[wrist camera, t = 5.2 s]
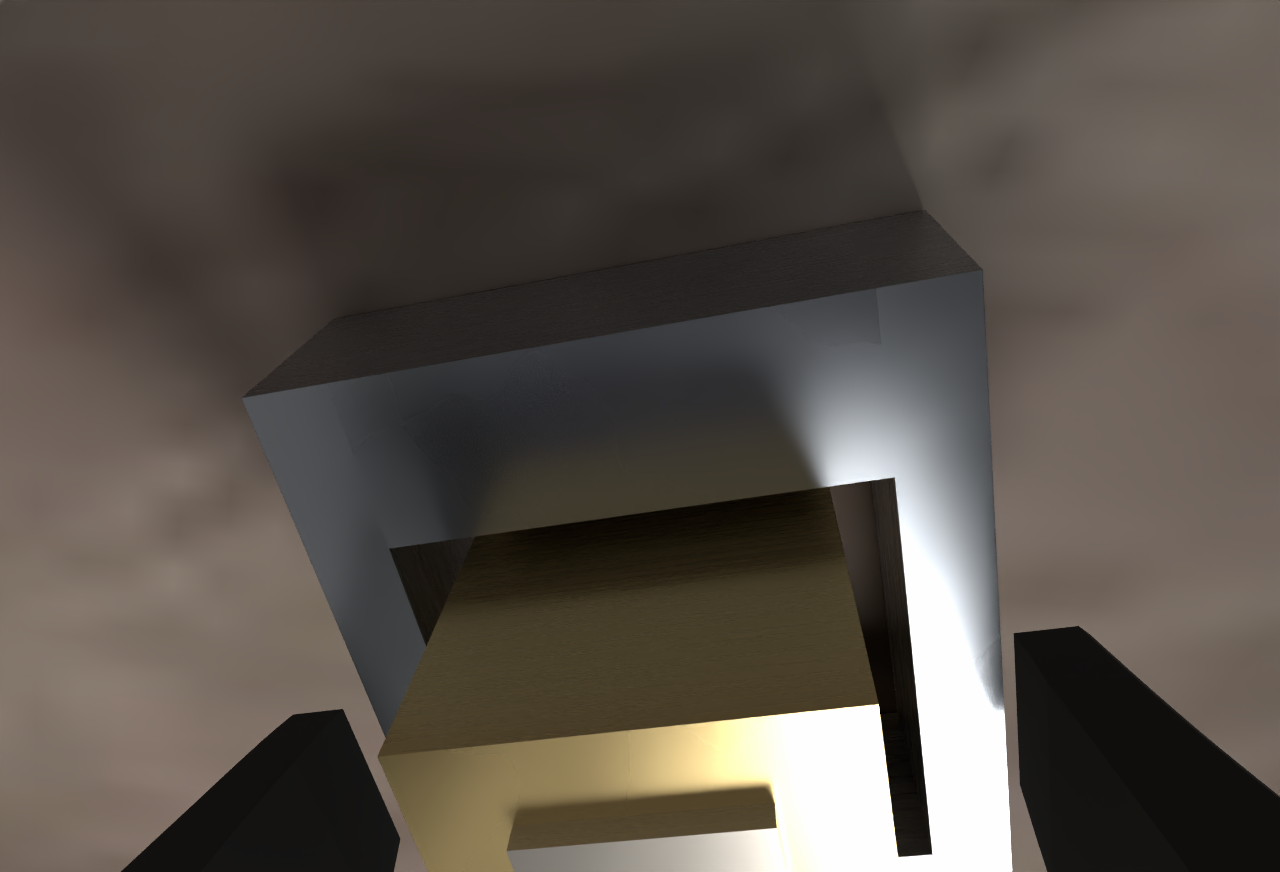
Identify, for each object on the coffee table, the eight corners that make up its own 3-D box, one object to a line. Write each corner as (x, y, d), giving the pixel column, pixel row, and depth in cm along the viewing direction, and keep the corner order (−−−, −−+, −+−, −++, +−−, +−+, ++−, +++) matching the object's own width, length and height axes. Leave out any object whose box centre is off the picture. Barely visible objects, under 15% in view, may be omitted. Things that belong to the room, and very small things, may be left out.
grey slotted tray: (991, 1111, 17) (1031, 1273, 15) (626, 1124, 18) (614, 1276, 16) (926, 209, 10) (981, 269, 8) (334, 318, 11) (240, 399, 9)
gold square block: (849, 672, 13) (925, 1063, 8) (576, 703, 14) (502, 1081, 9) (814, 420, 11) (884, 728, 7) (505, 468, 12) (366, 781, 7)
